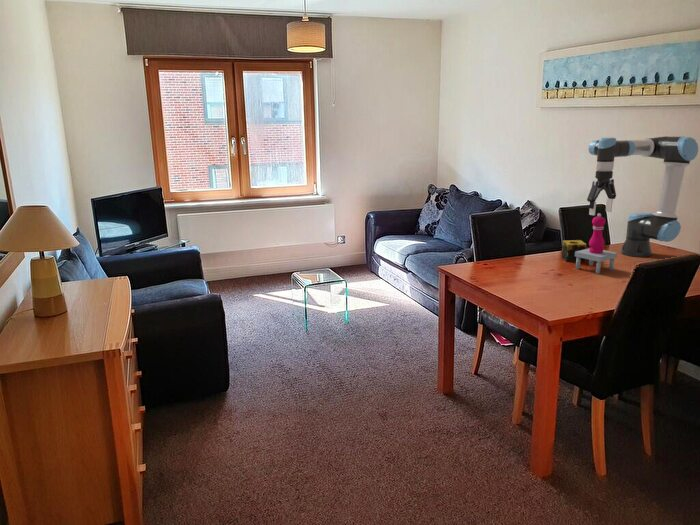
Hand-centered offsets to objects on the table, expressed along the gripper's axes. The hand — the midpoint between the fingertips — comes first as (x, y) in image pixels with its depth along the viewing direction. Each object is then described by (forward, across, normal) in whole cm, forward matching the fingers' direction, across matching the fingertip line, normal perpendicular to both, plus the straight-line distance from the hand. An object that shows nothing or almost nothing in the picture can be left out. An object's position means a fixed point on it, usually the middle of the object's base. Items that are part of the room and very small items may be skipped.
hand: (600, 213), depth 257 cm
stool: (+29, 0, 0) cm, 29 cm away
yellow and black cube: (+29, -8, -18) cm, 35 cm away
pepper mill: (+20, 0, 0) cm, 20 cm away
